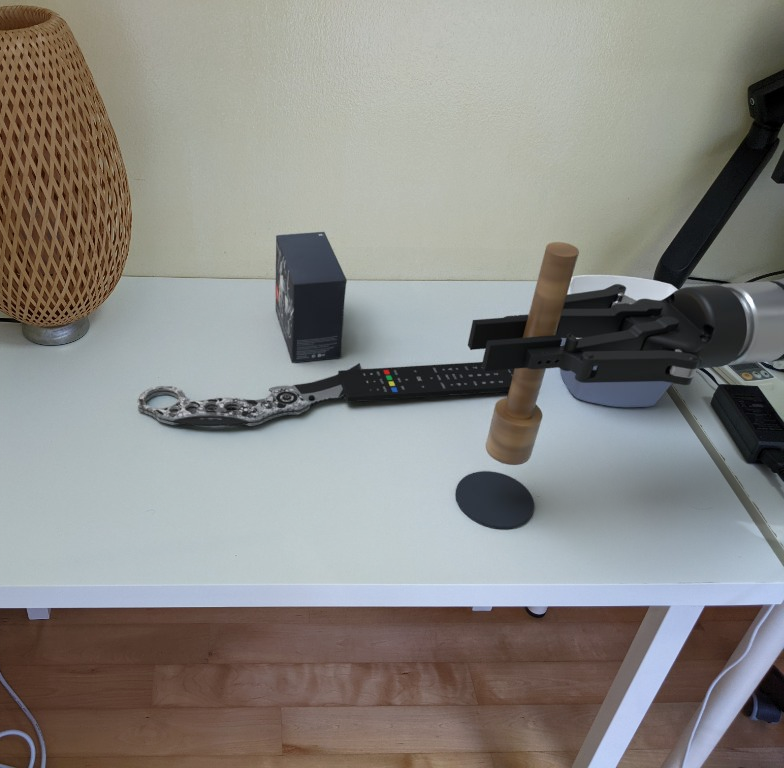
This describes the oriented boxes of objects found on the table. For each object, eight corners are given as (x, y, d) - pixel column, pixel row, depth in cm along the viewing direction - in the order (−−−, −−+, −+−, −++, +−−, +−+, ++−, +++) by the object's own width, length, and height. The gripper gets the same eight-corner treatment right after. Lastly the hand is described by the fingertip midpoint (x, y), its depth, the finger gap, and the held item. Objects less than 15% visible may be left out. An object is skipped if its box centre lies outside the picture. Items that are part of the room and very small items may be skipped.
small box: (273, 310, 110) (274, 233, 102) (320, 306, 111) (325, 229, 103) (290, 364, 100) (293, 282, 92) (342, 359, 100) (349, 278, 93)
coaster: (550, 511, 80) (551, 509, 79) (491, 540, 76) (492, 537, 76) (496, 464, 85) (497, 461, 85) (439, 489, 82) (440, 486, 82)
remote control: (337, 379, 96) (338, 370, 95) (519, 368, 100) (522, 359, 99) (347, 406, 92) (348, 397, 91) (536, 393, 95) (539, 384, 95)
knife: (360, 358, 98) (383, 403, 90) (359, 368, 99) (382, 414, 91) (135, 381, 94) (139, 431, 86) (136, 392, 95) (140, 442, 87)
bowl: (553, 413, 92) (577, 335, 86) (535, 341, 105) (555, 268, 98) (687, 425, 91) (722, 348, 84) (653, 351, 103) (681, 278, 96)
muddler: (540, 456, 76) (602, 254, 63) (507, 471, 74) (563, 266, 61) (508, 430, 79) (561, 232, 66) (475, 444, 77) (523, 243, 64)
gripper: (761, 410, 67) (506, 436, 64) (660, 315, 80) (442, 332, 76) (798, 338, 63) (525, 361, 59) (685, 249, 75) (454, 264, 72)
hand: (479, 345), depth 68 cm, fingers closed on muddler, 3 cm apart
